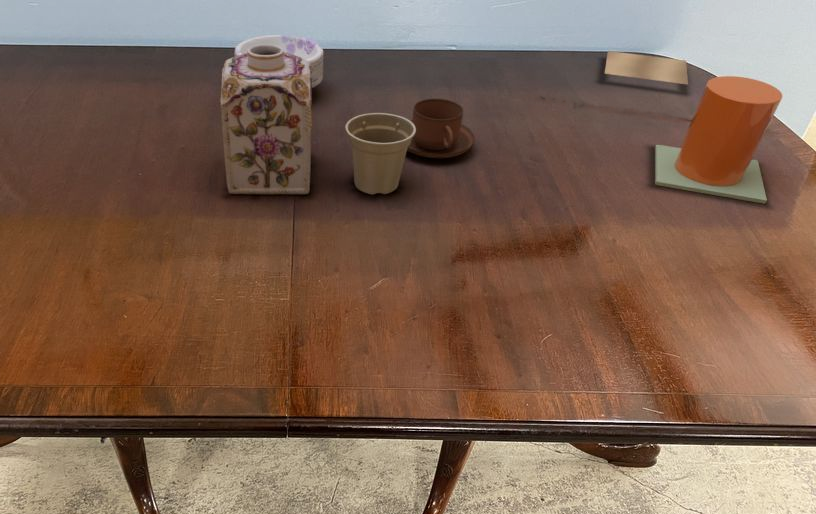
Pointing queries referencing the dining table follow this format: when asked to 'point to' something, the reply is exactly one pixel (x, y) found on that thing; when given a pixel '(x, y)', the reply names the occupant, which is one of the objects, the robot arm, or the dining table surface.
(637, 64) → the board
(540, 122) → the dining table surface
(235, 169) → the decorative jar
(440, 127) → the cup and saucer
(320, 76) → the white floral bowl
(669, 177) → the mat
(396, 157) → the flower pot
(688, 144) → the canister
